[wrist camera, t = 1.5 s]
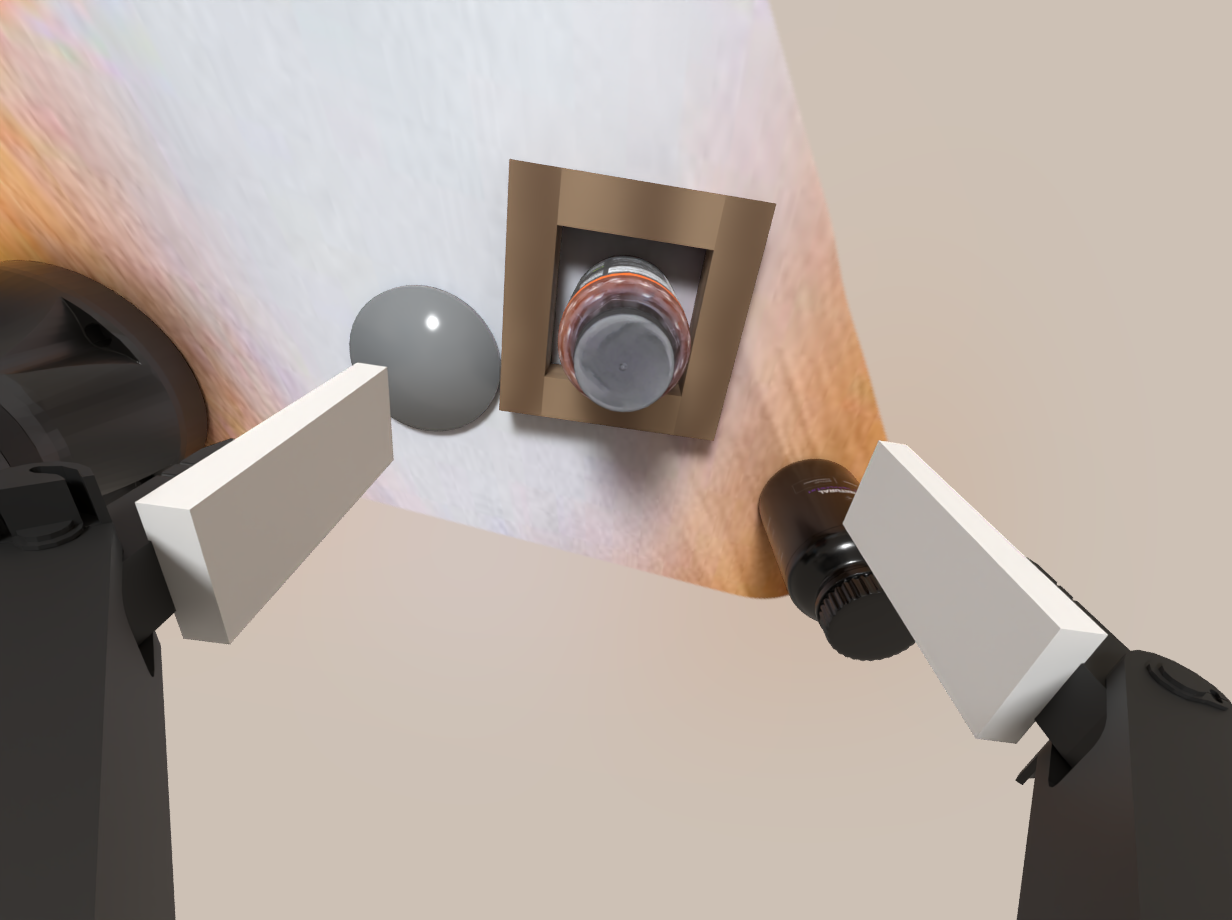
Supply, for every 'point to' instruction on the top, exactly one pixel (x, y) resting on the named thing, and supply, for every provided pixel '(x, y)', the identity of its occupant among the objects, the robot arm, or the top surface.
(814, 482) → the supplement bottle
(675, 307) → the supplement bottle
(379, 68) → the top surface
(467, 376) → the slate coaster
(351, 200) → the top surface
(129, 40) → the top surface
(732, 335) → the frame
